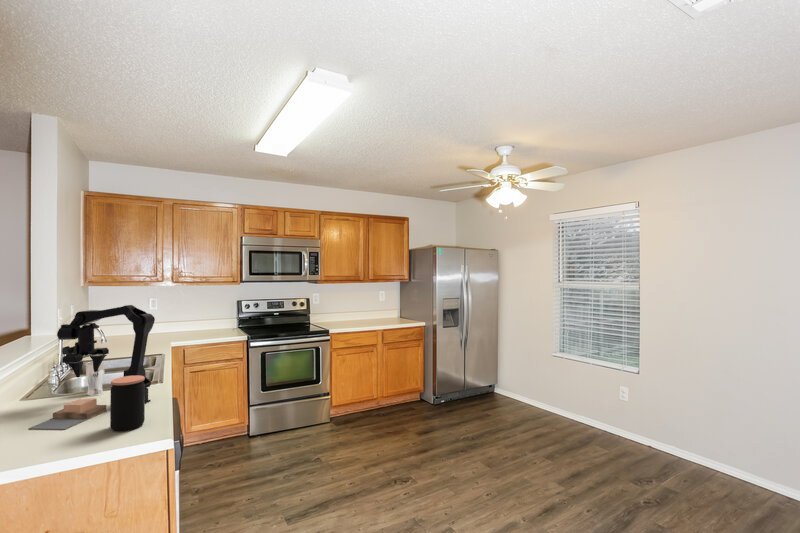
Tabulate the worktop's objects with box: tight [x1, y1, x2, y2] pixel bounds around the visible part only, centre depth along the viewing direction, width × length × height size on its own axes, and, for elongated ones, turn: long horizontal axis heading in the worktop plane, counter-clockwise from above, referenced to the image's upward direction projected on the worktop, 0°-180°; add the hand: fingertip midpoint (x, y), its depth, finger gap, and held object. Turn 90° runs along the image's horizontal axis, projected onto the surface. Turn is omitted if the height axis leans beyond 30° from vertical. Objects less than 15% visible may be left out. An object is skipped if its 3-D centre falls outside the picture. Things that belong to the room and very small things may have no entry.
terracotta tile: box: [63, 397, 98, 413], centre depth 164 cm, size 7×8×3 cm
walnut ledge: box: [52, 404, 107, 421], centre depth 164 cm, size 14×10×2 cm
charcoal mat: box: [28, 417, 88, 431], centre depth 154 cm, size 14×10×1 cm
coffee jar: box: [109, 375, 146, 433], centre depth 152 cm, size 11×11×18 cm
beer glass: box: [85, 360, 105, 397], centre depth 192 cm, size 7×7×15 cm
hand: (86, 374), depth 178 cm, fingers open, 9 cm apart
